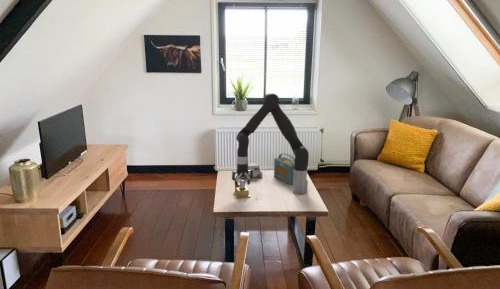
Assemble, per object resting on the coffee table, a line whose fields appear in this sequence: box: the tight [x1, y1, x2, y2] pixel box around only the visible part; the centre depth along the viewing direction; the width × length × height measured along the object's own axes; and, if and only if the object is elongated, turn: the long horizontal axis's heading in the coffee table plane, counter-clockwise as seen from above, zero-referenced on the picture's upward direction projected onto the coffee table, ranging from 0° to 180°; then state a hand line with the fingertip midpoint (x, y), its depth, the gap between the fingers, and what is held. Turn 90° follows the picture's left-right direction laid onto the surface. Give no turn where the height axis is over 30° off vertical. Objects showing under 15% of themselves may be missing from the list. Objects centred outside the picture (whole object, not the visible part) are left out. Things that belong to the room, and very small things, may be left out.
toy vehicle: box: [240, 162, 264, 179], centre depth 292 cm, size 9×18×10 cm, turn 103°
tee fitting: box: [233, 183, 252, 200], centre depth 254 cm, size 9×13×5 cm
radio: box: [273, 153, 295, 186], centre depth 285 cm, size 26×11×20 cm, turn 27°
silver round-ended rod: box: [239, 179, 246, 190], centre depth 251 cm, size 3×3×10 cm
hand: (242, 185), depth 251 cm, fingers open, 8 cm apart
